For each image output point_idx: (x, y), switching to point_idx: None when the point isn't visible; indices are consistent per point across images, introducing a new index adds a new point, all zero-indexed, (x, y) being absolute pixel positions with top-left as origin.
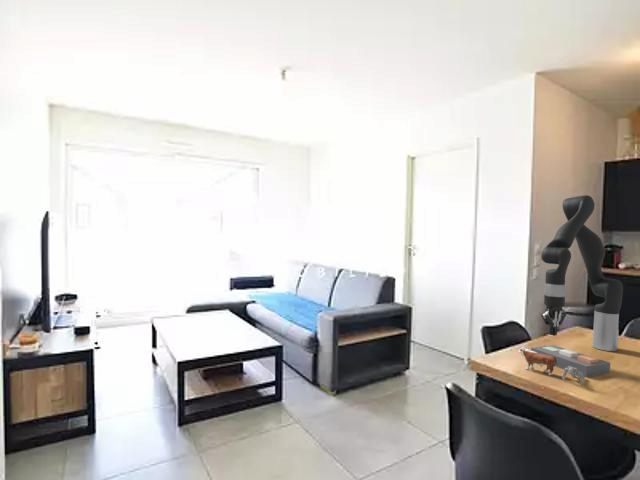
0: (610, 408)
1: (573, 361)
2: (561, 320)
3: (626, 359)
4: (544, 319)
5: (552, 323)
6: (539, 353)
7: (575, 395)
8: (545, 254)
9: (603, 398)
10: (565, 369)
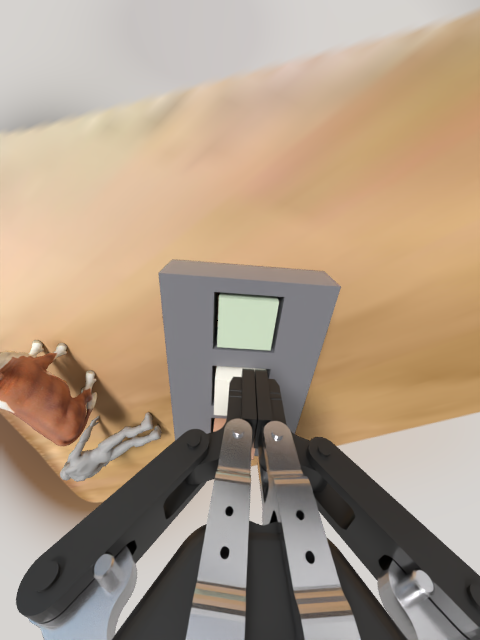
0: (80, 488)
1: (180, 424)
2: (330, 517)
3: None
4: (115, 503)
5: (197, 487)
6: (20, 417)
7: (56, 456)
8: None
9: (106, 473)
10: (69, 456)
